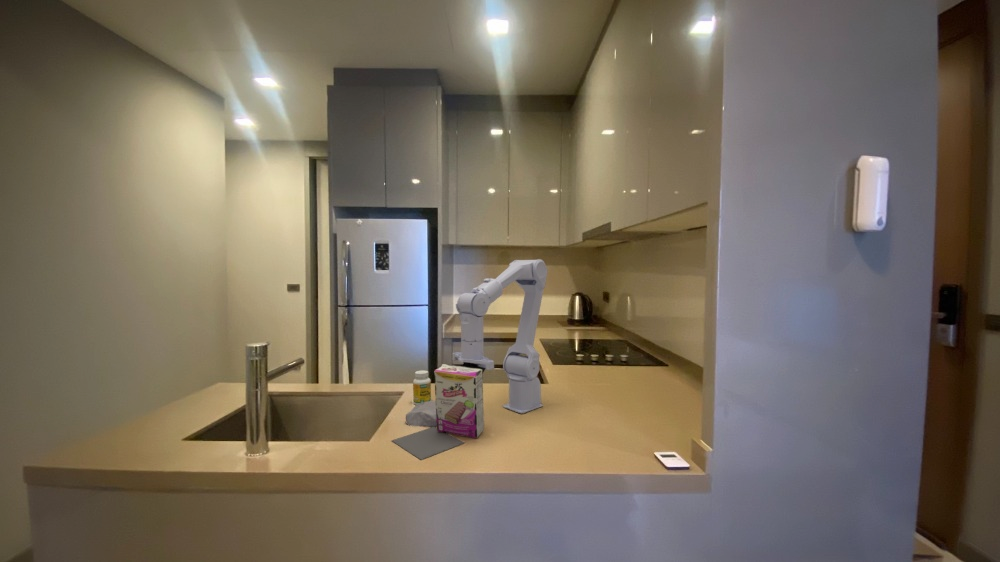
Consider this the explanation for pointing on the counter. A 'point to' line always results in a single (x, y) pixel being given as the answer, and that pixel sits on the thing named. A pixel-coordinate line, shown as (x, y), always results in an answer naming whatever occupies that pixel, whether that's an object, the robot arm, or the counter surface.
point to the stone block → (423, 415)
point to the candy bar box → (459, 400)
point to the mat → (427, 443)
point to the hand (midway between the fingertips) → (472, 392)
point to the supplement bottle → (421, 387)
